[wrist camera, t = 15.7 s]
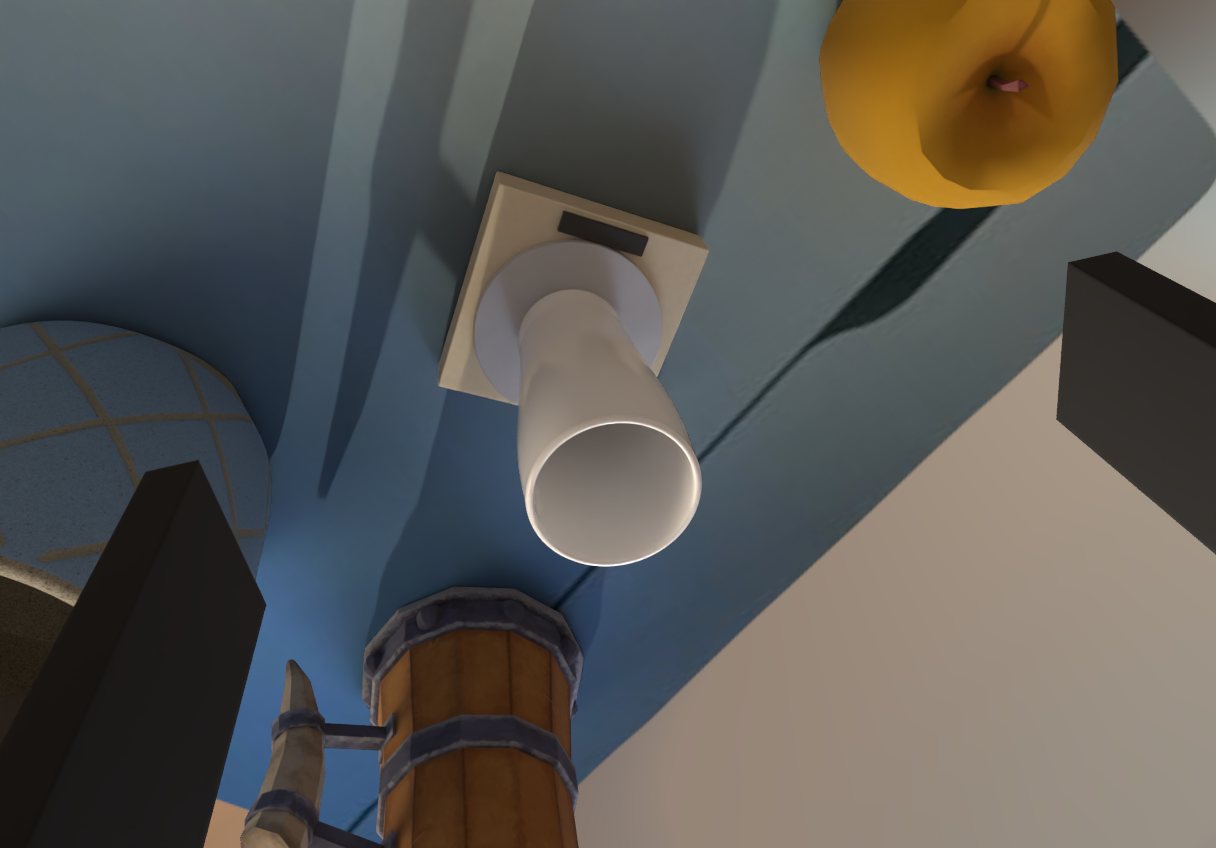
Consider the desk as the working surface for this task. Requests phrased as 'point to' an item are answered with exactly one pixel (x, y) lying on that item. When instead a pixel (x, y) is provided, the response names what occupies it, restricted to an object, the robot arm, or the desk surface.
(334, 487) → the desk surface
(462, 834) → the mug
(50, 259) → the desk surface
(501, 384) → the scale
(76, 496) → the planter
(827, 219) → the desk surface
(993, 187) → the apple
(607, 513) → the drinking glass
